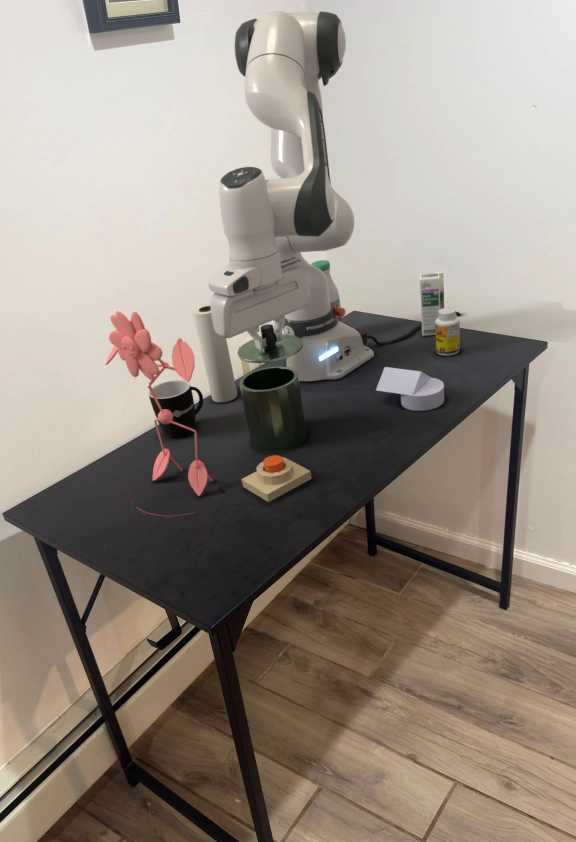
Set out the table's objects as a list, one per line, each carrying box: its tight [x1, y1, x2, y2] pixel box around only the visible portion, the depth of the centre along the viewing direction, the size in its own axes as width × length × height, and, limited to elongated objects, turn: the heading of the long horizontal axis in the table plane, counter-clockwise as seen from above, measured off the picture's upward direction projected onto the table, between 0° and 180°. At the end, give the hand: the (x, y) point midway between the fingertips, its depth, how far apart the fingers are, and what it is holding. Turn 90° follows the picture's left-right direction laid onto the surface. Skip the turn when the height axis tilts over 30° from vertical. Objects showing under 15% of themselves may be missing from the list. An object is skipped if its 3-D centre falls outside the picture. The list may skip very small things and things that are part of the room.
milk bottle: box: [311, 259, 343, 323], centre depth 184 cm, size 8×8×20 cm
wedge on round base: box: [375, 366, 445, 412], centre depth 152 cm, size 9×7×13 cm
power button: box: [262, 454, 284, 473], centre depth 130 cm, size 4×4×2 cm
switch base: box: [241, 457, 313, 503], centre depth 132 cm, size 10×8×4 cm
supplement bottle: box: [435, 307, 461, 357], centre depth 169 cm, size 6×6×10 cm
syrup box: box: [419, 270, 445, 337], centre depth 179 cm, size 6×6×14 cm
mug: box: [148, 379, 204, 439], centre depth 155 cm, size 12×9×10 cm
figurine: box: [105, 310, 214, 519], centre depth 126 cm, size 15×26×35 cm, turn 48°
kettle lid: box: [237, 323, 303, 364], centre depth 135 cm, size 12×12×5 cm
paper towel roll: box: [192, 304, 238, 403], centre depth 163 cm, size 7×6×21 cm
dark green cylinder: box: [239, 365, 307, 452], centre depth 144 cm, size 11×12×14 cm
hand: (269, 344), depth 135 cm, fingers closed on kettle lid, 2 cm apart
